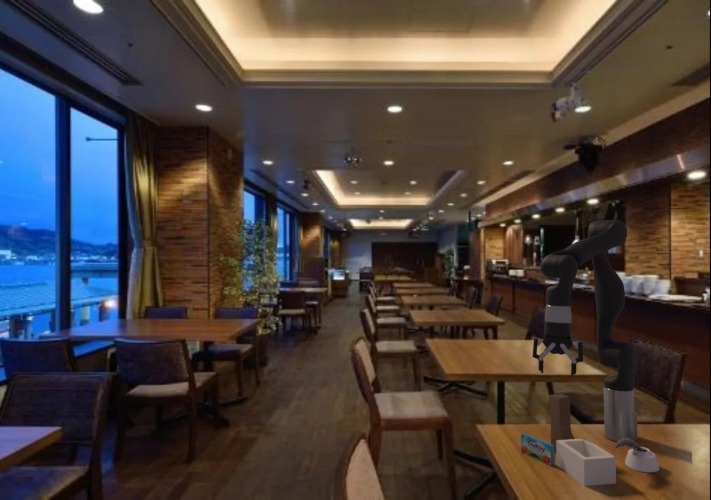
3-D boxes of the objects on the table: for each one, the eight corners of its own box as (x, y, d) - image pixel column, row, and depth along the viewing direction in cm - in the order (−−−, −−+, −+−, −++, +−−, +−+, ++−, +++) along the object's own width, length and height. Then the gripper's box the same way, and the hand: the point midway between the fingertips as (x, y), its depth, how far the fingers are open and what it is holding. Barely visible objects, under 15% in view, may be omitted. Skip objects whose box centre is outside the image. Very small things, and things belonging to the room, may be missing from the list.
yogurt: (554, 465, 153) (554, 445, 153) (551, 466, 152) (550, 446, 152) (524, 451, 163) (524, 432, 163) (521, 452, 163) (520, 433, 163)
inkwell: (666, 467, 150) (665, 434, 150) (634, 484, 140) (633, 448, 140) (634, 457, 157) (633, 425, 157) (602, 472, 147) (601, 438, 148)
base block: (585, 462, 155) (585, 438, 155) (616, 484, 140) (615, 457, 140) (556, 465, 153) (556, 440, 153) (584, 486, 139) (583, 459, 139)
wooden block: (582, 458, 158) (581, 400, 158) (571, 460, 156) (570, 402, 156) (561, 447, 166) (560, 393, 166) (550, 449, 164) (549, 394, 164)
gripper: (582, 321, 155) (581, 374, 154) (533, 318, 159) (532, 369, 159) (584, 323, 148) (583, 379, 147) (533, 319, 152) (531, 373, 152)
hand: (556, 374), depth 153 cm, fingers open, 8 cm apart
